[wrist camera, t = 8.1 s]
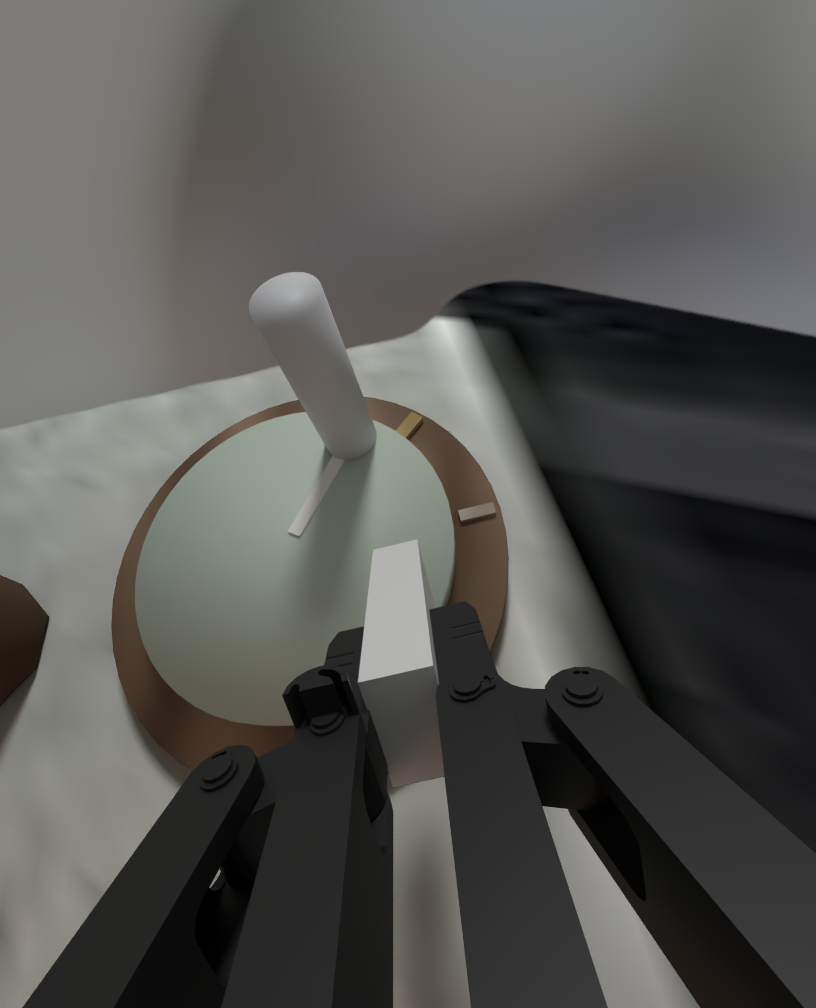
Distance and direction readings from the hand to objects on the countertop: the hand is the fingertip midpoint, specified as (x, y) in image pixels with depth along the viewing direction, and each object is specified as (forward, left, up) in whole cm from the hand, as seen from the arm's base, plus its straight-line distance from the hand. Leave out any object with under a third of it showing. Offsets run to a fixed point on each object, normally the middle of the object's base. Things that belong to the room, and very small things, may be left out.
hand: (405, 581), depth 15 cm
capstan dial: (-7, -3, -7) cm, 10 cm away
